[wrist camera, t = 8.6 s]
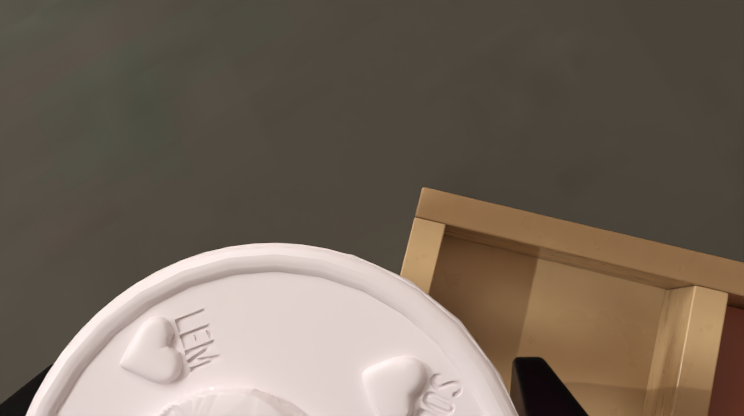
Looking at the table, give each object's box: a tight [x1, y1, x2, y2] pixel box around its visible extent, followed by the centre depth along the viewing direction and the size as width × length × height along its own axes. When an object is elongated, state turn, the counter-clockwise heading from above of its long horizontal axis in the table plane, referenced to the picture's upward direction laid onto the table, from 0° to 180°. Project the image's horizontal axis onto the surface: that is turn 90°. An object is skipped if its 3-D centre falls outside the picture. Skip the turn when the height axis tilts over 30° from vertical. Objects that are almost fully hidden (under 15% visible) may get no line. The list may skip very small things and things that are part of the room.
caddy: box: [400, 187, 744, 416], centre depth 20 cm, size 10×18×3 cm, turn 76°
